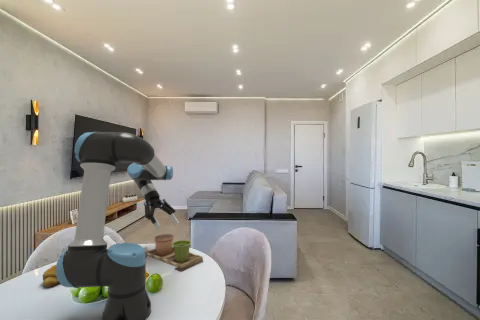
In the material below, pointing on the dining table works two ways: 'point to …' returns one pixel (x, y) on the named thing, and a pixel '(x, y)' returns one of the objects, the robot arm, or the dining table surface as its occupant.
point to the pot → (164, 244)
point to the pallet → (171, 260)
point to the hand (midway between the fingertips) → (168, 226)
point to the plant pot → (181, 250)
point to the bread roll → (50, 277)
